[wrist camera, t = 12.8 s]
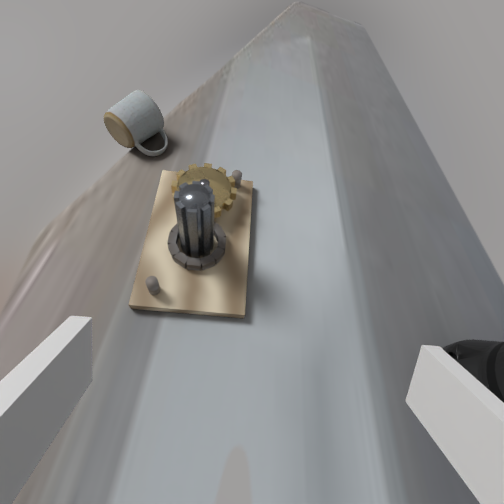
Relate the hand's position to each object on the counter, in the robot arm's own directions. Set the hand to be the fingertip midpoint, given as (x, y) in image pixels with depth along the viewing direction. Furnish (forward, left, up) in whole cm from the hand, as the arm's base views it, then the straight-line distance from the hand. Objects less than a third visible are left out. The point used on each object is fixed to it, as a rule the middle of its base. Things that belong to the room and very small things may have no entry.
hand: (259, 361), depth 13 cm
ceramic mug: (+19, -46, -32) cm, 59 cm away
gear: (+6, -31, -30) cm, 44 cm away
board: (+6, -25, -32) cm, 41 cm away
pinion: (+6, -23, -30) cm, 38 cm away
